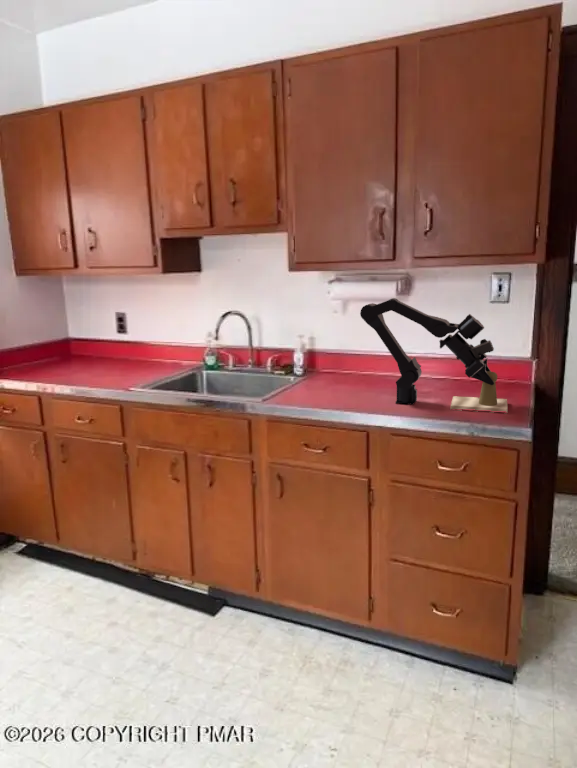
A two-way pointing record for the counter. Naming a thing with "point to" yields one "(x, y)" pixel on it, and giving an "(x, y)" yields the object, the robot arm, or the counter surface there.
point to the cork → (489, 392)
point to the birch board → (477, 404)
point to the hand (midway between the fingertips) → (493, 382)
